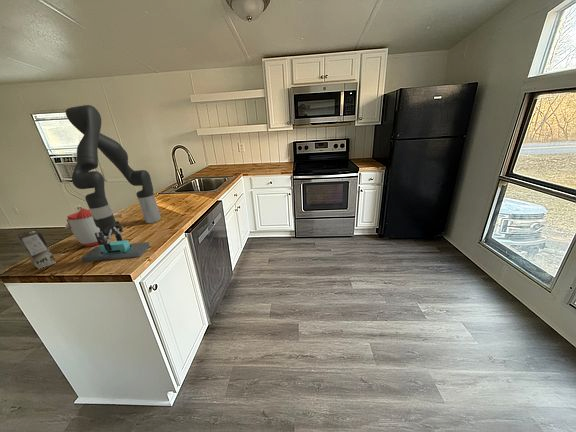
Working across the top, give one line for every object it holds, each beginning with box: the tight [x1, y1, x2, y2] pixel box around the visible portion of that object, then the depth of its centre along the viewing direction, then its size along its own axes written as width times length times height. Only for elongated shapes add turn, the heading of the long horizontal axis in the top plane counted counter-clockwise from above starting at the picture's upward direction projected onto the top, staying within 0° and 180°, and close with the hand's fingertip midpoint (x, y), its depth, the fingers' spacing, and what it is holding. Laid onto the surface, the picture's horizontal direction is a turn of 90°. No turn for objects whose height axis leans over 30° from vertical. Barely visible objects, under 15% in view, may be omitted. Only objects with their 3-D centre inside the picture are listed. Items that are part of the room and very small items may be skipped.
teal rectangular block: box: [99, 239, 131, 253], centre depth 113 cm, size 4×11×6 cm, turn 95°
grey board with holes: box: [80, 241, 151, 263], centre depth 113 cm, size 10×26×2 cm, turn 94°
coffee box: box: [16, 229, 57, 270], centre depth 106 cm, size 9×6×16 cm
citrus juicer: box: [64, 207, 106, 248], centre depth 124 cm, size 16×17×20 cm
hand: (115, 246), depth 112 cm, fingers open, 8 cm apart
